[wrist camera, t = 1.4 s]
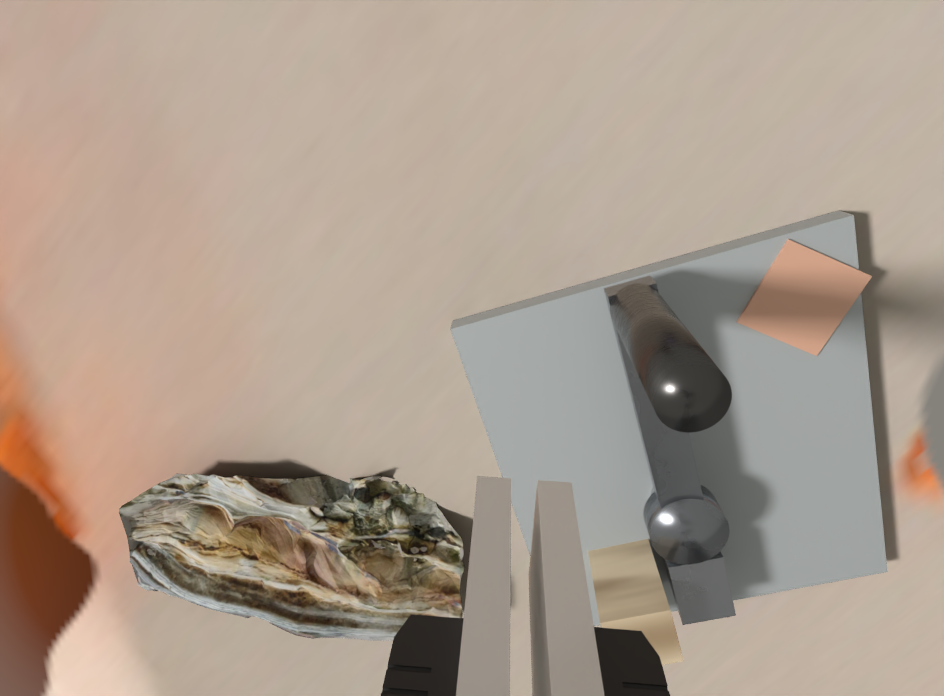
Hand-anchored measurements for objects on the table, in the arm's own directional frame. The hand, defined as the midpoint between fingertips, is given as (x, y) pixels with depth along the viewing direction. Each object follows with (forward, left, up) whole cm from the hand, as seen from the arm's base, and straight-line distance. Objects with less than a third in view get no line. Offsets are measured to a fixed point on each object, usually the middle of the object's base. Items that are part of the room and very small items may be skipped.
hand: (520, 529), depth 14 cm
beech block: (-21, -1, -21) cm, 30 cm away
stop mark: (-5, -15, -21) cm, 26 cm away
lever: (-12, -6, -20) cm, 24 cm away
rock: (-14, +20, -23) cm, 33 cm away
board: (-14, -7, -22) cm, 27 cm away
